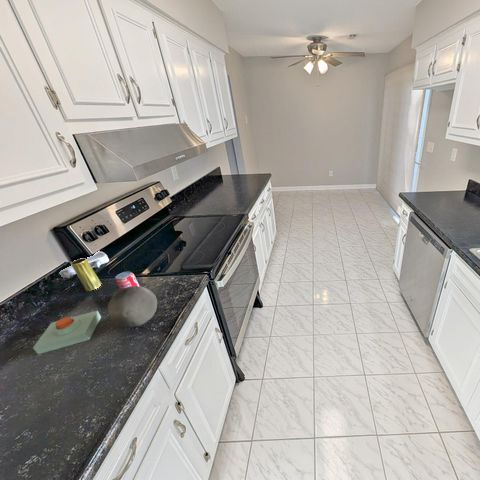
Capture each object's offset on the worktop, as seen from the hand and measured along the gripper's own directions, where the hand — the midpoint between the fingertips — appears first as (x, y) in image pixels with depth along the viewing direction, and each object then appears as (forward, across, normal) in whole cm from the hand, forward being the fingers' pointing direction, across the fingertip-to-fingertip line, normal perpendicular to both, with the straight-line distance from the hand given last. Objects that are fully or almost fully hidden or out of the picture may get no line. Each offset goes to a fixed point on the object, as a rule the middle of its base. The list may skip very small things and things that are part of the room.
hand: (84, 271), depth 114 cm
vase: (+3, 0, +8) cm, 8 cm away
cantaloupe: (+47, +7, +8) cm, 48 cm away
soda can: (+28, +10, +8) cm, 31 cm away
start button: (+32, -11, +3) cm, 34 cm away
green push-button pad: (+32, -11, +8) cm, 35 cm away
